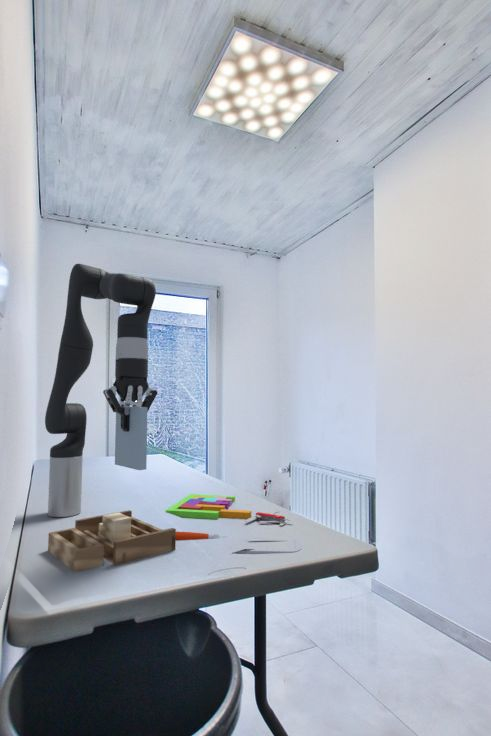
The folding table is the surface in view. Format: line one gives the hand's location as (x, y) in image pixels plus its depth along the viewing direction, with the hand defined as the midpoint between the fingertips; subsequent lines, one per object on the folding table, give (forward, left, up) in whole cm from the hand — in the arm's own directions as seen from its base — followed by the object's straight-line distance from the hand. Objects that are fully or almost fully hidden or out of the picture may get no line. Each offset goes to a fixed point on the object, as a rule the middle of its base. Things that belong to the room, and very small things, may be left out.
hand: (130, 430), depth 101 cm
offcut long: (0, -3, -26) cm, 26 cm away
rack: (0, -1, -27) cm, 27 cm away
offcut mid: (-1, -3, -24) cm, 24 cm away
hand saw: (+15, +19, -28) cm, 37 cm away
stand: (+1, -13, -27) cm, 30 cm away
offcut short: (0, -3, -21) cm, 22 cm away
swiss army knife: (+7, +41, -27) cm, 50 cm away
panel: (0, 0, -8) cm, 8 cm away
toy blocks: (-15, +38, -28) cm, 49 cm away
